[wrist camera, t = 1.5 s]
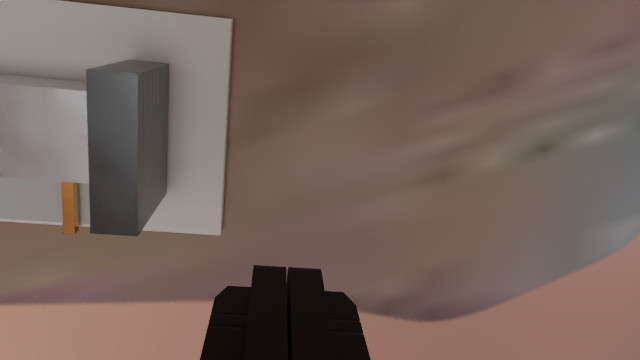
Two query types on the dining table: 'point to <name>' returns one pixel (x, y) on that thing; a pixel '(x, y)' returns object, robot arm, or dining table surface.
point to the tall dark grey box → (92, 140)
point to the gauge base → (183, 109)
